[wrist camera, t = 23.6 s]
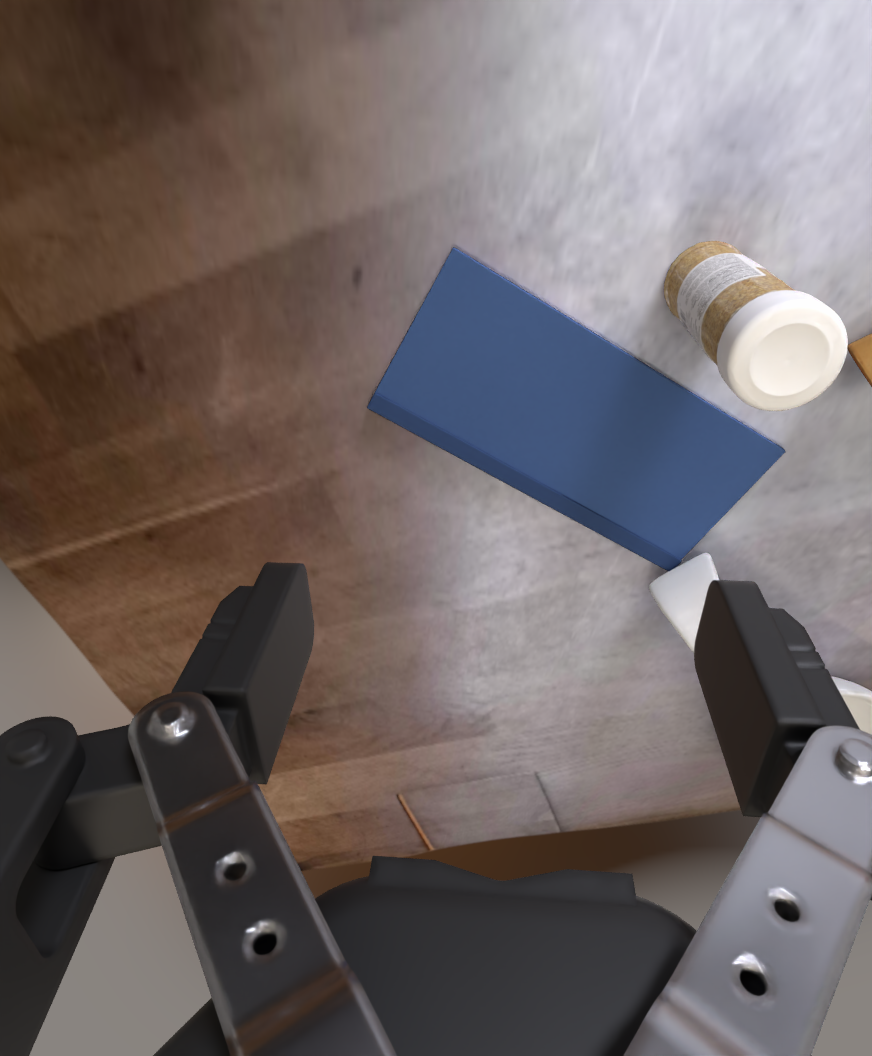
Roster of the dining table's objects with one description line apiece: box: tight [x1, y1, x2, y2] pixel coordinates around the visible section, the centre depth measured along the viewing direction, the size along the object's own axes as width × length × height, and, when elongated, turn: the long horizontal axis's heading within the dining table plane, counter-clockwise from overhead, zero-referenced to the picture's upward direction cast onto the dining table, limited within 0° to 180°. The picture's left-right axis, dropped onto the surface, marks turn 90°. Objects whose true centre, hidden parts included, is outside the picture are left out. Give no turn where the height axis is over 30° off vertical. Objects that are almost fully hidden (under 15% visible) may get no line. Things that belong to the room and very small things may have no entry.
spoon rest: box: [649, 553, 872, 735], centre depth 50 cm, size 24×12×7 cm, turn 43°
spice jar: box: [664, 241, 848, 411], centre depth 33 cm, size 5×5×14 cm
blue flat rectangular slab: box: [367, 247, 785, 571], centre depth 44 cm, size 24×11×1 cm, turn 61°
